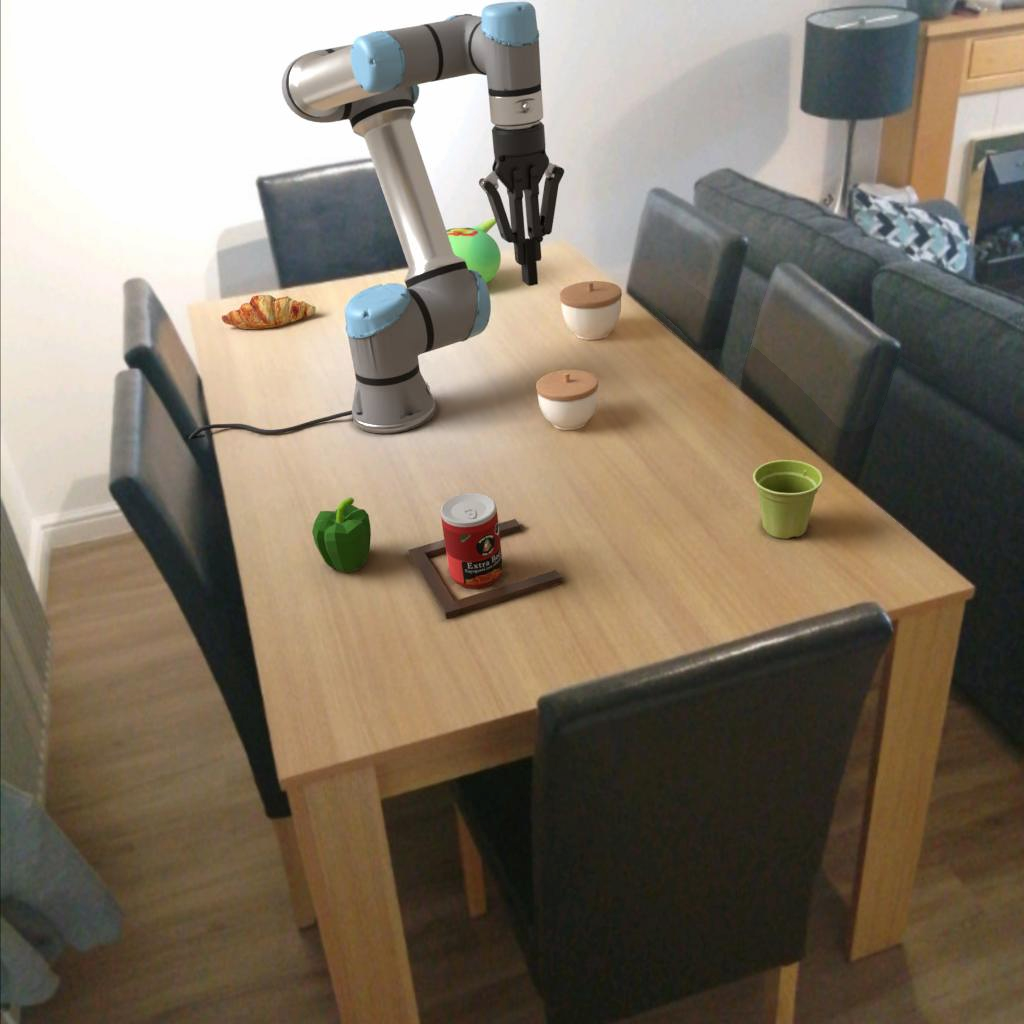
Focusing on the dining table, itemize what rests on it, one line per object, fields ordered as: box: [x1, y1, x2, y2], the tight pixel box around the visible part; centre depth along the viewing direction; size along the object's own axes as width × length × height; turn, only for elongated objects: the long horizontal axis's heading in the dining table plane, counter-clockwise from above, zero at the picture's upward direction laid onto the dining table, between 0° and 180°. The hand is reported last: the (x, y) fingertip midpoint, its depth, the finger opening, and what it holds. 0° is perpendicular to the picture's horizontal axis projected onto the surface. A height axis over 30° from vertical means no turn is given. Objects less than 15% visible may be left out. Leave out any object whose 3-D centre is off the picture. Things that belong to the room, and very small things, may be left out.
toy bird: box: [446, 218, 502, 284], centre depth 243 cm, size 18×17×15 cm
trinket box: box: [535, 369, 599, 431], centre depth 181 cm, size 11×11×9 cm
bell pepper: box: [311, 496, 372, 573], centre depth 149 cm, size 8×8×10 cm
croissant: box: [221, 294, 317, 330], centre depth 237 cm, size 21×10×8 cm, turn 101°
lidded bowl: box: [559, 280, 623, 341], centre depth 214 cm, size 13×13×11 cm
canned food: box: [440, 492, 504, 589], centre depth 144 cm, size 8×8×11 cm
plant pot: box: [752, 459, 824, 540], centre depth 147 cm, size 9×9×9 cm
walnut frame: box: [407, 518, 563, 619], centre depth 147 cm, size 17×17×1 cm
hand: (530, 282), depth 160 cm, fingers closed
